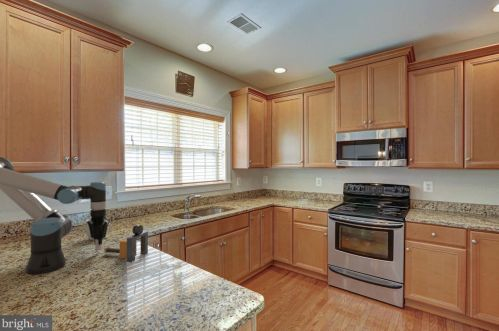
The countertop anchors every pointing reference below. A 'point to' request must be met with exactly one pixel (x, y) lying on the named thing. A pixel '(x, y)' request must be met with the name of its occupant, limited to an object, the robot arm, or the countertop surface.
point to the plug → (122, 249)
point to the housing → (131, 242)
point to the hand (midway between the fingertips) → (98, 250)
